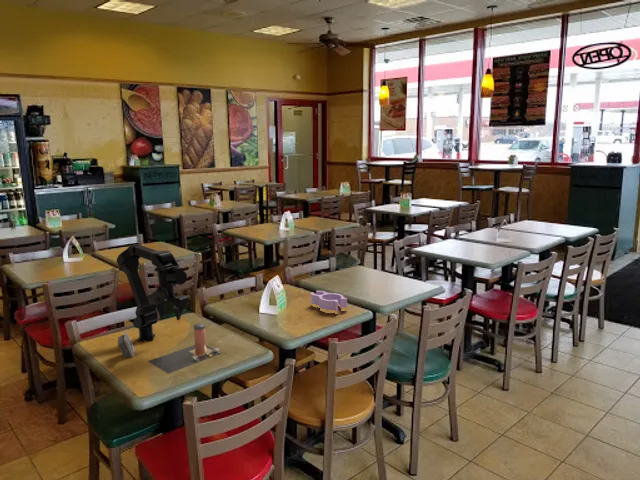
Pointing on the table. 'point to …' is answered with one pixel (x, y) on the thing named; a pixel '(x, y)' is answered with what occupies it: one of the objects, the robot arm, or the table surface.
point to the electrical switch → (126, 345)
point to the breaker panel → (183, 358)
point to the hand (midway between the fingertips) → (170, 318)
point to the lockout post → (200, 338)
